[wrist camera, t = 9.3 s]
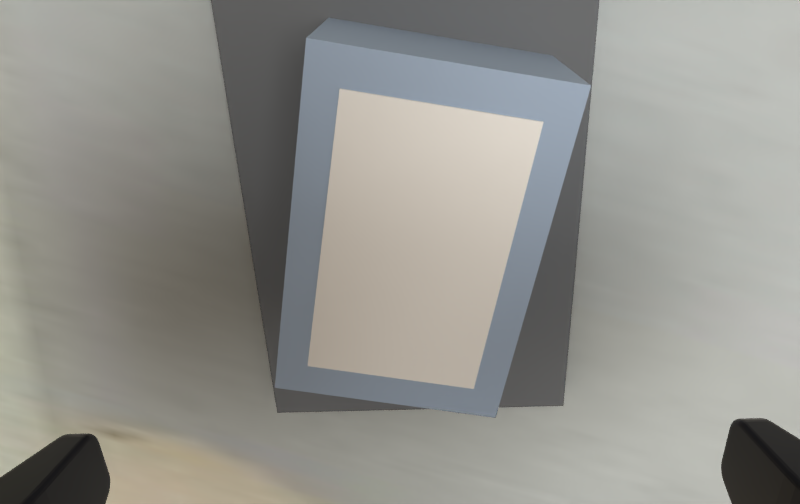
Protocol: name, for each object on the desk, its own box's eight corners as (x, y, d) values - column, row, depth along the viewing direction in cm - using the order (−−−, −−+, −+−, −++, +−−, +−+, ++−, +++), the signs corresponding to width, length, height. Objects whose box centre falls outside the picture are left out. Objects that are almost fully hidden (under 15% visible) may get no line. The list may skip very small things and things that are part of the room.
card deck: (552, 55, 17) (591, 86, 13) (480, 335, 21) (495, 419, 17) (328, 17, 17) (305, 38, 13) (298, 309, 20) (274, 389, 17)
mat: (559, 394, 22) (563, 405, 22) (280, 401, 23) (277, 412, 22) (603, -127, 16) (610, -130, 15) (201, -107, 16) (193, -109, 15)
